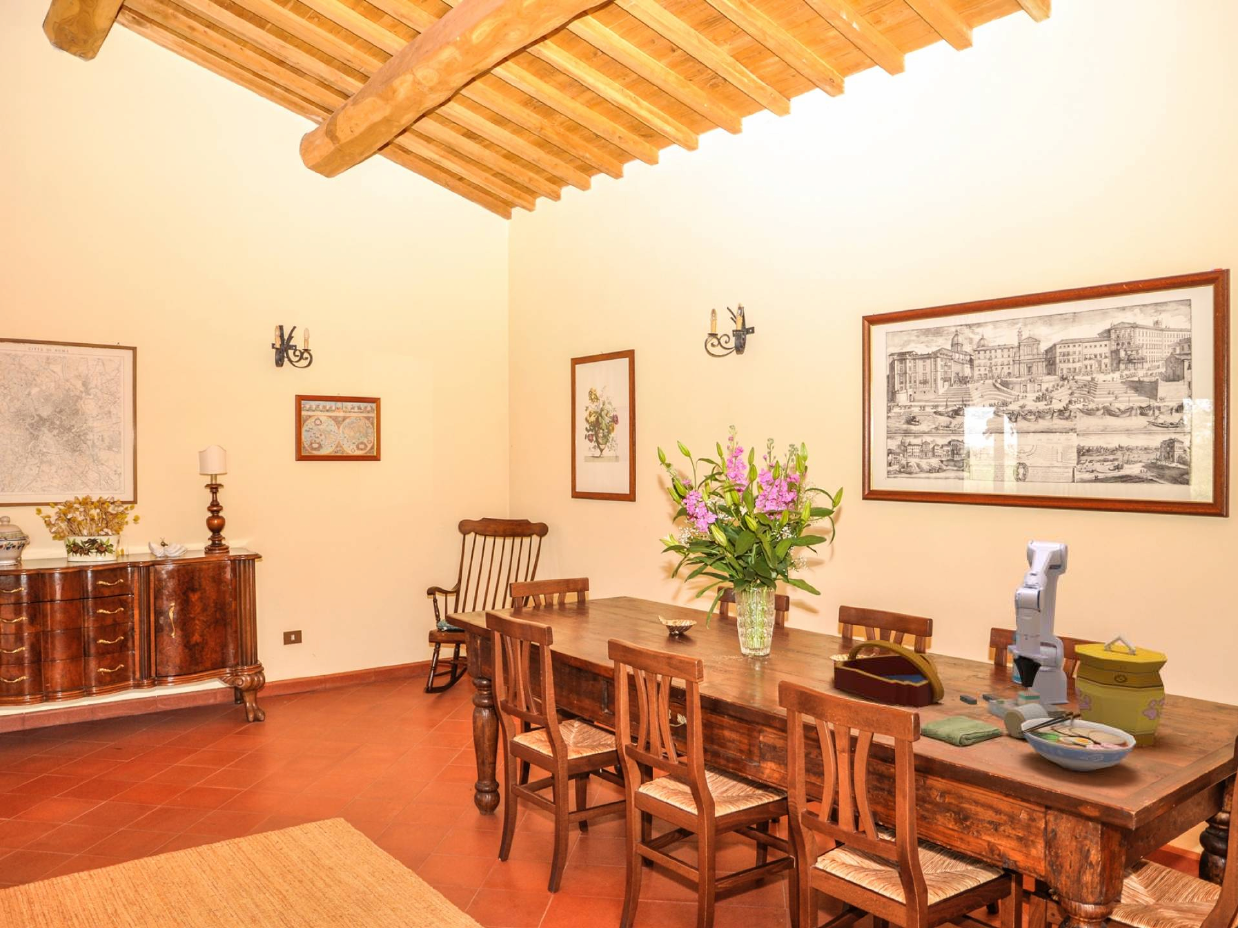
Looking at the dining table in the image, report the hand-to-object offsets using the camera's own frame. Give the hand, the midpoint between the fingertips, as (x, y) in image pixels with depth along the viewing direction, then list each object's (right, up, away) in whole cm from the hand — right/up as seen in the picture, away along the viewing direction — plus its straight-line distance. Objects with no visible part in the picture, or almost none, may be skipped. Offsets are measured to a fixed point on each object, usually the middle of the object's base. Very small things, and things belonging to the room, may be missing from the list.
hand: (1027, 686), depth 241 cm
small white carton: (0, -8, 0) cm, 8 cm away
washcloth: (-23, -9, -15) cm, 29 cm away
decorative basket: (-28, -8, +25) cm, 38 cm away
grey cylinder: (-7, -9, -17) cm, 20 cm away
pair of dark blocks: (-6, -8, +15) cm, 18 cm away
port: (0, -8, 0) cm, 8 cm away
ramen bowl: (-5, -9, -37) cm, 38 cm away
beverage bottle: (+16, -8, +37) cm, 42 cm away
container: (+15, -9, -15) cm, 23 cm away
